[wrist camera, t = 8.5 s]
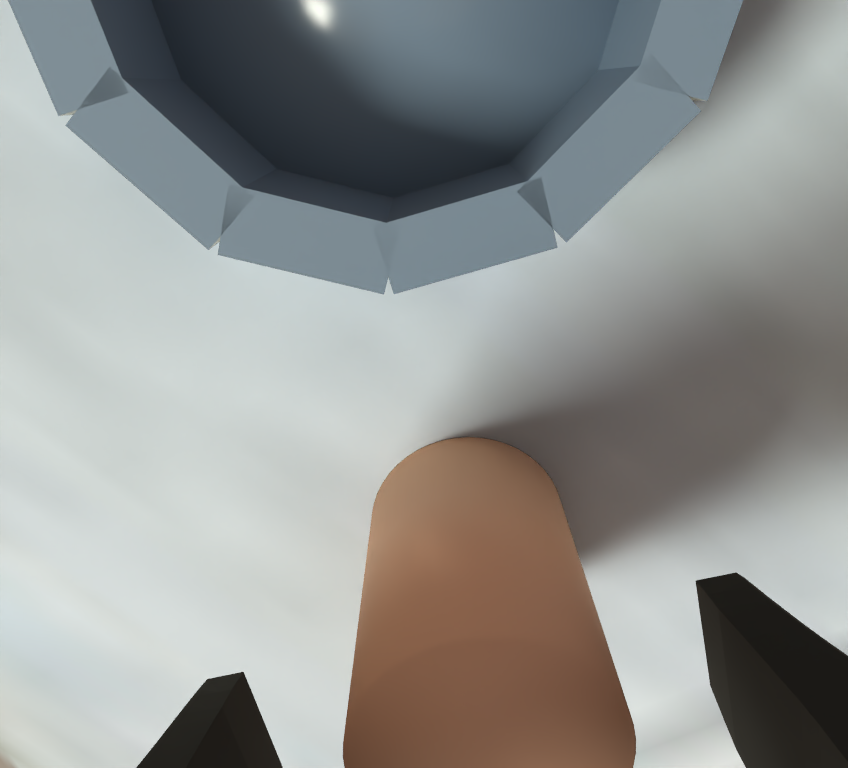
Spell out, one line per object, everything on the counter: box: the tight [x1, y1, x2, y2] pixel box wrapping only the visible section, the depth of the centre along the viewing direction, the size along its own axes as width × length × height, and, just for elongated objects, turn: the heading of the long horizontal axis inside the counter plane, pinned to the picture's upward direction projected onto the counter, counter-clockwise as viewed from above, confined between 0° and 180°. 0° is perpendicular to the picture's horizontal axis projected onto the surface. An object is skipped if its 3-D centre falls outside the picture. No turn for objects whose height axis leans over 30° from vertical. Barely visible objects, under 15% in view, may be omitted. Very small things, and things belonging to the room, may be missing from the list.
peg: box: [343, 437, 636, 768], centre depth 13 cm, size 4×4×6 cm
